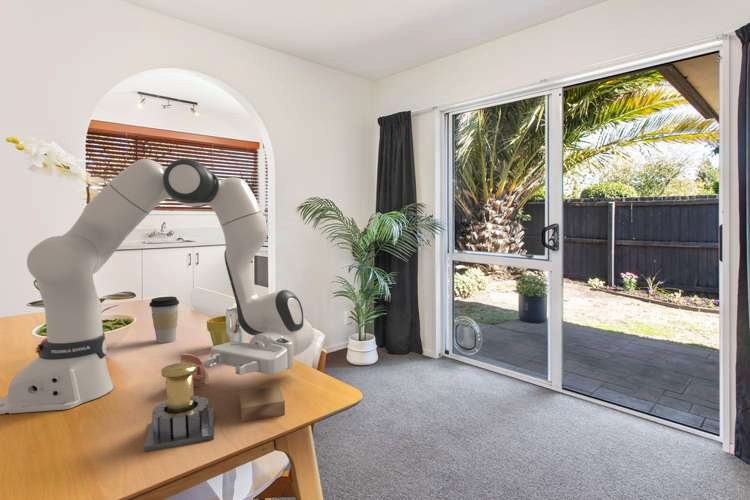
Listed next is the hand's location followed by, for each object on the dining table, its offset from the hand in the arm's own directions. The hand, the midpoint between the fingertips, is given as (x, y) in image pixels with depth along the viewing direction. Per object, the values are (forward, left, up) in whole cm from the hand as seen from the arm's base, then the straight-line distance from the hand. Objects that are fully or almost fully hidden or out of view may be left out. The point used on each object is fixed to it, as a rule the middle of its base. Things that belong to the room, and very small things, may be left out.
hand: (222, 367), depth 94 cm
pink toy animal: (-8, +16, -10) cm, 21 cm away
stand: (+8, -3, -10) cm, 13 cm away
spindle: (-8, -7, -9) cm, 14 cm away
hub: (-8, -7, -10) cm, 14 cm away
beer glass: (+5, +36, -10) cm, 38 cm away
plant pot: (+1, +48, -10) cm, 49 cm away
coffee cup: (-18, +64, -10) cm, 67 cm away
